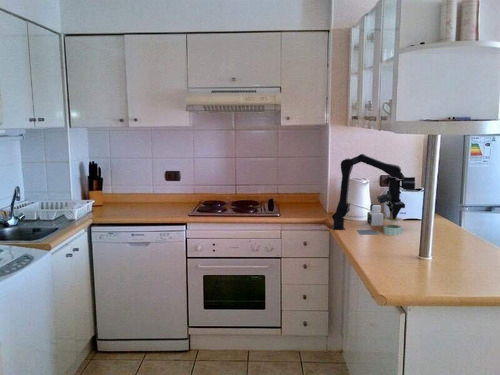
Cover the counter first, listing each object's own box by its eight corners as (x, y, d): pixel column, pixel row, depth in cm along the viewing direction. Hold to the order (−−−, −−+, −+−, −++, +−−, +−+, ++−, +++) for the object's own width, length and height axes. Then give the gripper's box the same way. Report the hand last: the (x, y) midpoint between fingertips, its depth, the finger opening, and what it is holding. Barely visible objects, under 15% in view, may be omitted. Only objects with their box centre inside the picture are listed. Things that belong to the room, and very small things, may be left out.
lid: (381, 218, 238) (381, 209, 237) (399, 218, 238) (399, 209, 237) (386, 222, 228) (386, 213, 227) (405, 222, 228) (405, 213, 227)
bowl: (381, 231, 239) (382, 224, 238) (398, 231, 238) (398, 224, 238) (386, 236, 230) (386, 228, 229) (403, 235, 230) (404, 228, 229)
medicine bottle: (367, 223, 258) (367, 203, 256) (378, 223, 259) (379, 203, 257) (371, 226, 251) (371, 205, 249) (383, 225, 252) (383, 205, 250)
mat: (356, 230, 241) (356, 230, 241) (374, 230, 241) (374, 229, 241) (360, 235, 232) (360, 234, 232) (379, 235, 231) (379, 234, 231)
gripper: (374, 186, 240) (373, 214, 242) (383, 192, 221) (382, 222, 224) (394, 186, 240) (393, 214, 242) (405, 192, 221) (404, 222, 224)
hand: (393, 218), depth 233 cm, fingers closed on lid, 3 cm apart
